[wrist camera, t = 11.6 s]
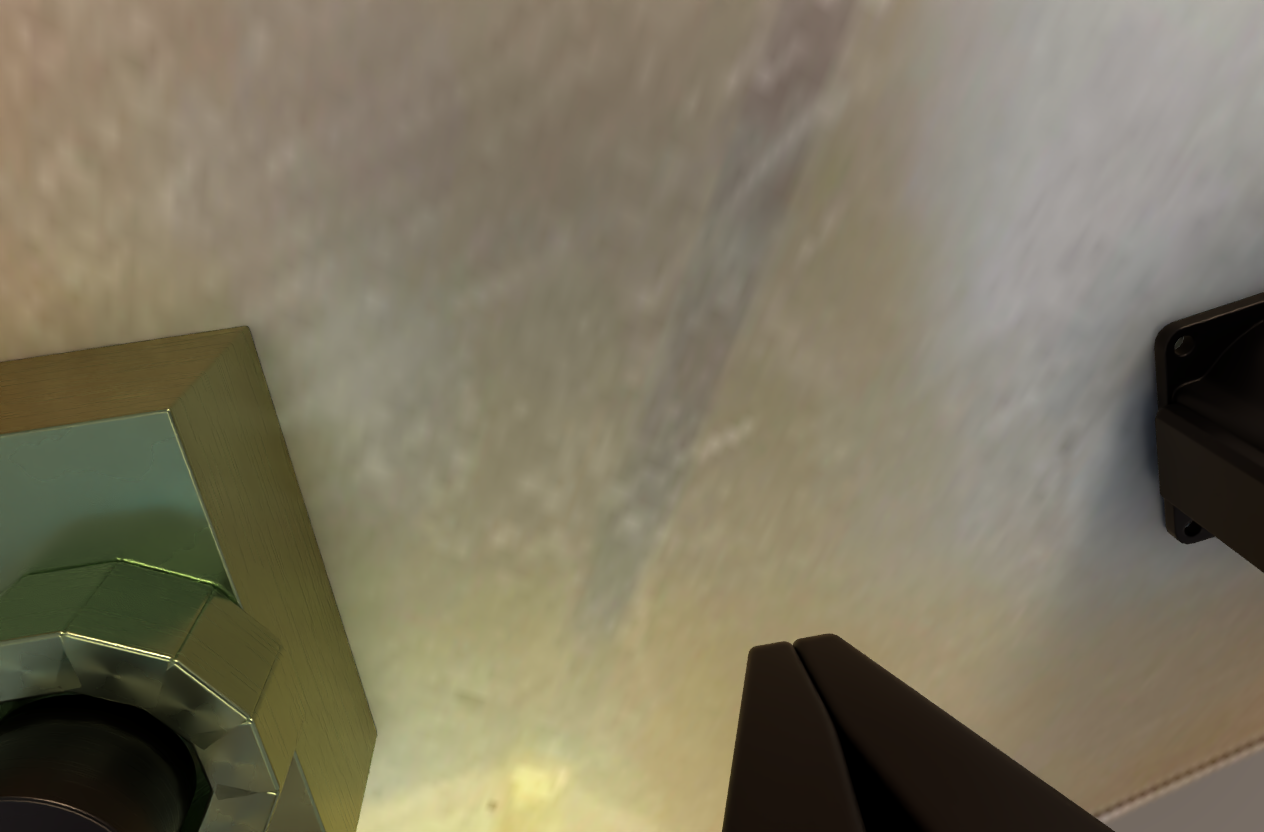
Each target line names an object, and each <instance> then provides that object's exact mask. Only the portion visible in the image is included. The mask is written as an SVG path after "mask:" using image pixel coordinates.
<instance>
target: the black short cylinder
mask: <svg viewBox="0 0 1264 832" xmlns="http://www.w3.org/2000/svg"><path fill="white" fill-rule="evenodd" d="M196 786H197V775H196V768H195V764H194V761H193V758H192V755H191V753H190V751H189V749H188V747H187V745H186V744H185V743H184V741H183V740H182V739H181V737H180V736H179V735H178V734H177V733H175V732H174V731H173V730H171V729H170V728H168V727H167V726H166V725H164V724H163V723H161V722H160V721H159V720H157V719H156V718H155V717H153V716H152V715H150V714H149V713H148V712H146V711H145V710H143V709H142V708H140V707H135V706H131V705H127V704H122V703H118V702H113V701H109V700H105V699H100V698H96V697H91V696H87V695H83V694H64V695H55V696H50V697H46V698H41V699H38V700H35V701H32V702H29V703H27V704H25V705H23V706H21V707H19V708H17V709H15V710H13V711H12V712H11V713H9V714H8V715H6V716H5V717H4V718H2V719H1V720H0V832H179V830H180V828H181V826H182V824H183V821H184V819H185V817H186V814H187V812H188V810H189V808H190V805H191V803H192V800H193V798H194V796H195V791H196Z"/></svg>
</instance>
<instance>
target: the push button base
mask: <svg viewBox="0 0 1264 832" xmlns="http://www.w3.org/2000/svg"><path fill="white" fill-rule="evenodd" d="M64 694H83V695H87V696H91V697H96V698H100V699H105V700H109V701H113V702H118V703H122V704H127V705H131V706H135V707H140V708H142V709H143V710H145V711H146V712H148V713H149V714H150V715H152V716H153V717H155V718H156V719H157V720H159V721H160V722H161V723H163V724H164V725H166V726H167V727H168V728H170V729H171V730H173V731H174V732H175V733H177V734H178V735H179V736H180V737H181V739H182V740H183V741H184V743H185V744H186V745H187V747H188V749H189V751H190V753H191V755H192V758H193V761H194V764H195V768H196V775H197V786H196V791H195V796H194V798H193V800H192V803H191V805H190V808H189V810H188V812H187V814H186V817H185V819H184V821H183V824H182V826H181V828H180V830H179V832H356V829H357V825H358V820H359V816H360V811H361V806H362V802H363V797H364V793H365V788H366V783H367V779H368V774H369V770H370V765H371V760H372V756H373V751H374V747H375V742H376V738H377V732H376V729H375V726H374V723H373V719H372V716H371V713H370V710H369V707H368V704H367V700H366V697H365V694H364V691H363V688H362V685H361V681H360V678H359V675H358V672H357V669H356V666H355V662H354V659H353V656H352V653H351V650H350V647H349V643H348V640H347V637H346V634H345V631H344V628H343V624H342V621H341V618H340V615H339V612H338V609H337V605H336V602H335V599H334V596H333V593H332V590H331V586H330V583H329V580H328V577H327V574H326V571H325V567H324V564H323V561H322V558H321V555H320V552H319V548H318V545H317V542H316V539H315V536H314V533H313V529H312V526H311V523H310V520H309V517H308V514H307V510H306V507H305V504H304V501H303V498H302V495H301V491H300V488H299V485H298V482H297V479H296V476H295V472H294V469H293V466H292V463H291V460H290V457H289V453H288V450H287V447H286V444H285V441H284V438H283V434H282V431H281V428H280V425H279V422H278V419H277V415H276V412H275V409H274V406H273V403H272V400H271V396H270V393H269V390H268V387H267V384H266V381H265V377H264V374H263V371H262V368H261V365H260V362H259V358H258V355H257V352H256V349H255V346H254V342H253V339H252V336H251V333H250V330H249V328H248V326H242V327H235V328H228V329H221V330H215V331H208V332H201V333H195V334H188V335H181V336H174V337H168V338H161V339H154V340H148V341H141V342H134V343H127V344H121V345H114V346H107V347H101V348H94V349H87V350H80V351H74V352H67V353H60V354H53V355H47V356H40V357H33V358H27V359H20V360H13V361H6V362H0V720H1V719H2V718H4V717H5V716H6V715H8V714H9V713H11V712H12V711H13V710H15V709H17V708H19V707H21V706H23V705H25V704H27V703H29V702H32V701H35V700H38V699H41V698H46V697H50V696H55V695H64Z"/></svg>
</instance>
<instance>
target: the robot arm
mask: <svg viewBox="0 0 1264 832" xmlns="http://www.w3.org/2000/svg"><path fill="white" fill-rule="evenodd" d="M1183 336H1184V339H1183V342H1182V344H1181V345H1180V346H1179V347H1178V348H1176V349H1175V350H1174V347H1175V343H1176V342H1177V341H1178V340H1179V339H1180V338H1181V337H1183ZM1154 351H1155V366H1156V382H1157V397H1158V412H1157V415H1156V418H1155V426H1156V440H1157V455H1158V470H1159V485H1160V494H1161V496H1162V497H1163V498H1164V505H1165V520H1166V528H1167V531H1168V532H1169V533H1170V534H1171V535H1172V536H1173V537H1175V538H1176V539H1177V540H1178V541H1180V542H1181V543H1184V544H1192V543H1196V542H1199V541H1203V540H1206V539H1209V538H1212V537H1217V538H1218V539H1219V540H1221V541H1222V542H1223V543H1225V544H1226V545H1227V546H1229V547H1230V548H1231V549H1233V550H1234V551H1235V552H1237V553H1238V554H1239V555H1241V556H1242V557H1243V558H1245V559H1246V560H1247V561H1249V562H1250V563H1251V564H1253V565H1254V566H1255V567H1257V568H1258V569H1260V570H1261V571H1262V572H1264V292H1263V293H1260V294H1257V295H1254V296H1251V297H1248V298H1245V299H1242V300H1239V301H1236V302H1233V303H1230V304H1227V305H1224V306H1220V307H1217V308H1214V309H1211V310H1208V311H1205V312H1202V313H1199V314H1196V315H1193V316H1190V317H1187V318H1184V319H1181V320H1178V321H1175V322H1172V323H1170V324H1168V325H1166V326H1165V327H1164V328H1163V329H1162V330H1161V331H1160V332H1159V333H1158V335H1157V337H1156V339H1155V345H1154ZM1191 521H1192V522H1191ZM1189 522H1191V524H1190V525H1189V526H1188V527H1186V525H1187V524H1188V523H1189ZM1185 527H1186V528H1185ZM722 832H1115V831H1113V830H1112V829H1111V828H1109V827H1108V826H1106V825H1105V824H1103V823H1102V822H1101V821H1099V820H1098V819H1096V818H1095V817H1094V816H1092V815H1091V814H1089V813H1088V812H1086V811H1085V810H1084V809H1082V808H1081V807H1079V806H1078V805H1077V804H1075V803H1074V802H1072V801H1071V800H1069V799H1068V798H1067V797H1065V796H1064V795H1062V794H1061V793H1060V792H1058V791H1057V790H1055V789H1054V788H1053V787H1051V786H1050V785H1048V784H1047V783H1045V782H1044V781H1043V780H1041V779H1040V778H1038V777H1037V776H1036V775H1034V774H1033V773H1031V772H1030V771H1028V770H1027V769H1026V768H1024V767H1023V766H1021V765H1020V764H1019V763H1017V762H1016V761H1014V760H1013V759H1011V758H1010V757H1009V756H1007V755H1006V754H1004V753H1003V752H1002V751H1000V750H999V749H997V748H996V747H995V746H993V745H992V744H990V743H989V742H987V741H986V740H985V739H983V738H982V737H980V736H979V735H978V734H976V733H975V732H973V731H972V730H970V729H969V728H968V727H966V726H965V725H963V724H962V723H961V722H959V721H958V720H956V719H955V718H954V717H952V716H951V715H949V714H948V713H946V712H945V711H944V710H942V709H941V708H939V707H938V706H937V705H935V704H934V703H932V702H931V701H929V700H928V699H927V698H925V697H924V696H922V695H921V694H920V693H918V692H917V691H915V690H914V689H912V688H911V687H910V686H908V685H907V684H905V683H904V682H903V681H901V680H900V679H898V678H897V677H896V676H894V675H893V674H891V673H890V672H888V671H887V670H886V669H884V668H883V667H881V666H880V665H879V664H877V663H876V662H874V661H873V660H871V659H870V658H869V657H867V656H866V655H864V654H863V653H862V652H860V651H859V650H857V649H856V648H854V647H853V646H852V645H850V644H849V643H847V642H846V641H845V640H843V639H842V638H840V637H839V636H837V635H834V634H823V635H817V636H811V637H806V638H800V639H797V640H796V641H795V642H794V643H793V645H792V644H791V643H789V642H786V641H783V642H777V643H771V644H766V645H760V646H755V647H753V648H752V649H750V651H749V654H748V661H747V667H746V674H745V681H744V688H743V694H742V701H741V708H740V714H739V721H738V728H737V734H736V741H735V748H734V755H733V761H732V768H731V775H730V781H729V788H728V795H727V801H726V808H725V815H724V822H723V828H722Z"/></svg>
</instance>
